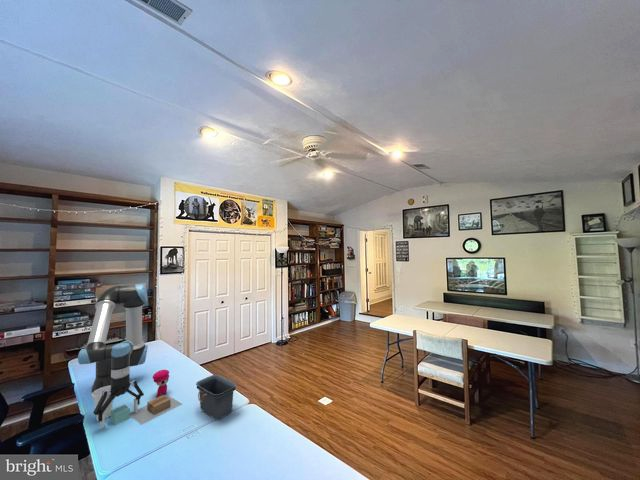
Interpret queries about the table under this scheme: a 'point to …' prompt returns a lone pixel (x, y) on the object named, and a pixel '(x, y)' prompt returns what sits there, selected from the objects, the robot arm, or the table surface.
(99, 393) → the cup
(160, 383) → the toy
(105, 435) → the table surface
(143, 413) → the build plate
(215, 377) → the storage bin
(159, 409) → the walnut brick
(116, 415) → the teal brick
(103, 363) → the robot arm
